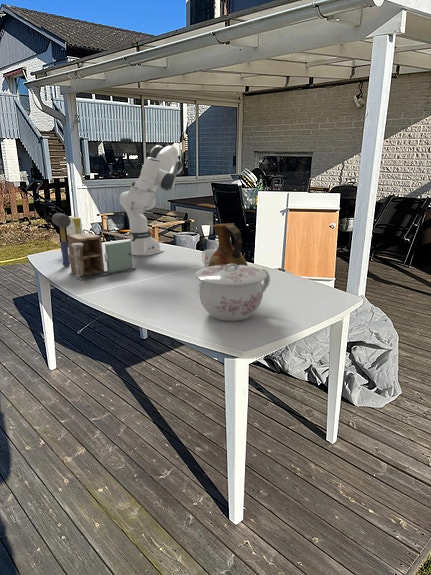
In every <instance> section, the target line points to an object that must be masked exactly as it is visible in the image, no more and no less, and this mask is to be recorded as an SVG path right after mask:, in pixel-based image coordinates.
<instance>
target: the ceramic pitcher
mask: <svg viewBox="0 0 431 575" xmlns="http://www.w3.org/2000/svg"><path fill="white" fill-rule="evenodd" d="M211 227H212V228H213V229H214V231H215V232H216V235H217V239H218V247H217V250H216V251H215V252H214V253H213V255H212V257H211V259H210V262H209V266H208V267H210V266H215V265H224V264H231V263H233V264H236V265H246V266H249V265H248V262H247V260H246V258H245V257H244V255H243V254H242V253H241V251H242V245H243V237H242V235H241V234H242V233H241V231H240V229H239V228H237V226H236V225H235V223H234V222H233V223H229V222H227V223H218V224H217V223H216V224H213V225H212V226H211ZM231 234H232V237H233V241H234V246H233V243H232V240H231V239H232V238H231Z"/></svg>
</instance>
